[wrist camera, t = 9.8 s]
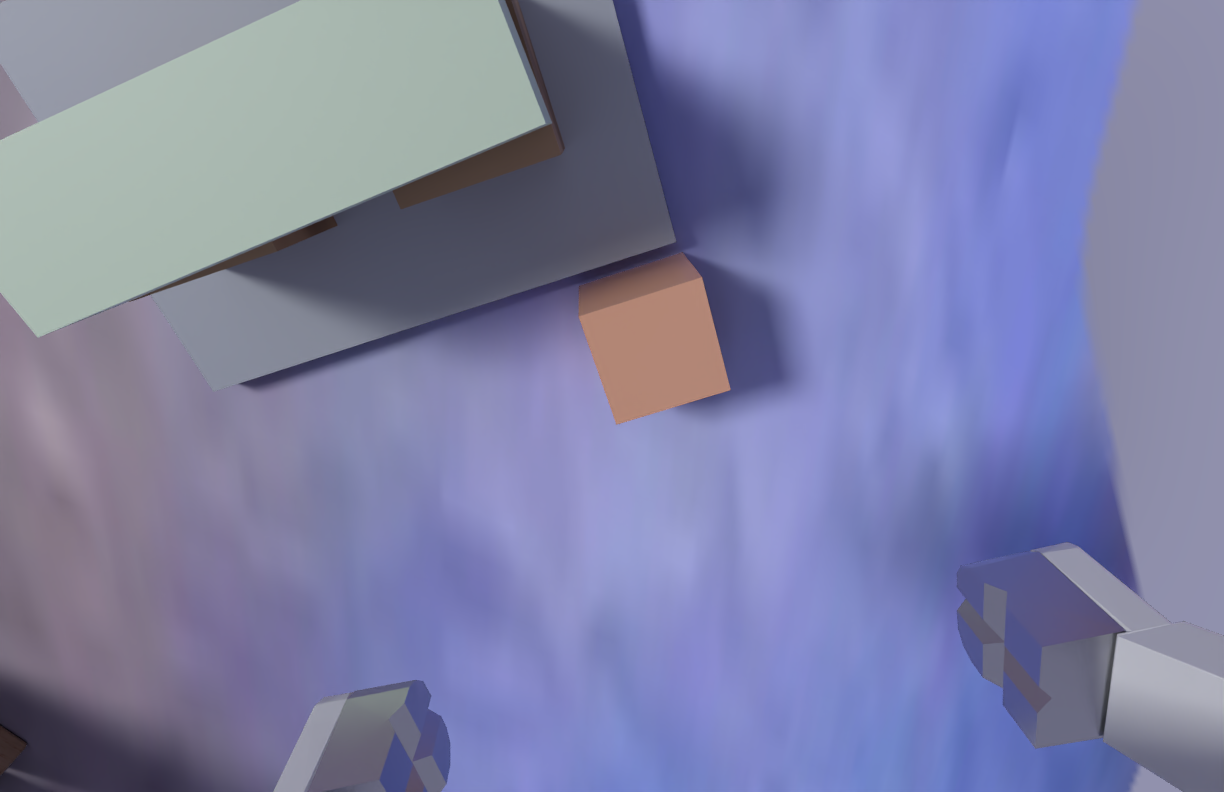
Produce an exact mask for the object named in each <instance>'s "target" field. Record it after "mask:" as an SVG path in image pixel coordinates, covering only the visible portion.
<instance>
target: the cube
mask: <svg viewBox="0 0 1224 792" xmlns="http://www.w3.org/2000/svg"><path fill="white" fill-rule="evenodd" d="M579 319H580V322H581V325H582V328H583V330H584V333H585V336H586V339H587V342H588V345H589V347H590V350H591V353H592V356H593V359H594V362H595V365H596V367H597V370H598V373H599V376H600V379H601V382H602V385H603V387H604V390H605V393H606V396H607V399H608V402H609V404H610V407H611V410H612V413H613V416H614V419H615V422H616V424H620V423H623V422H627V421H630V420H633V419H637V418H640V417H643V416H646V415H650V414H653V413H656V412H660V411H663V410H666V409H670V408H673V407H676V406H680V405H683V404H686V403H689V402H693V401H696V400H699V399H703V398H706V397H709V396H713V395H716V394H719V393H723V392H726V391H729V390H731V389H730V385H729V381H728V378H727V374H726V370H725V366H724V362H723V358H722V354H721V350H720V346H719V342H718V338H717V334H716V330H715V326H714V322H713V318H712V315H711V311H710V307H709V303H708V299H707V295H706V291H705V287H704V283H703V279H702V277H701V275H700V274H699V273H698V271H697V270H696V269H695V268H694V266H693V265H692V264H691V263H690V261H689V260H688V259H687V257H686V256H685V255H684V254H683V252H682V253H679V254H675V255H672V256H669V257H666V258H663V259H660V260H657V261H654V262H651V263H648V264H644V265H641V266H638V267H635V268H632V269H629V270H626V271H623V272H620V273H617V274H614V275H610V276H607V277H604V278H601V279H598V280H595V281H592V282H589V283H586V284H583V285H580V286H579Z"/></svg>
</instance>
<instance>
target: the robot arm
mask: <svg viewBox="0 0 1224 792" xmlns="http://www.w3.org/2000/svg"><path fill="white" fill-rule="evenodd" d="M957 588H958V589H959V591H960V592H961V593H962V594H963V596H964V597H965V598H966V599H965V601H964V602H963V603H962V605H961V606H960V607H959V609H958V610H957V621H958V630H959V633H960V637H961V640H962V643H963V646H964V648H965V650H966V652H967V654H968V656H969V658H970V660H971V662H972V663H973V665H974V666H975V667H976V669H977V670H978V672H979V673H980V674H981V676H982V677H983V678H985V679H987V680H989V681H990V682H992V683H994V684H996V685H998V686H1000V687H1002V688H1003V706H1004V707H1005V708H1006V710H1007V711H1008V712H1009V714H1010V715H1011V716H1012V718H1013V719H1014V721H1015V722H1016V723H1017V725H1018V726H1019V727H1020V729H1021V730H1022V731H1023V733H1024V734H1025V735H1026V737H1027V738H1028V739H1029V741H1030V742H1031V743H1032V745H1033V746H1034V747H1035V749H1036V748H1042V747H1048V746H1055V745H1061V744H1067V743H1073V742H1079V741H1086V740H1092V739H1098V738H1103V742H1105V743H1106V744H1108V745H1110V746H1111V747H1113V748H1114V749H1116V750H1118V751H1119V752H1121V753H1122V754H1124V755H1125V756H1127V757H1129V758H1130V759H1132V760H1133V761H1135V762H1137V763H1138V764H1140V765H1141V766H1143V767H1145V768H1146V769H1148V770H1149V771H1151V772H1153V773H1154V774H1156V775H1157V776H1159V777H1160V778H1162V779H1164V780H1165V781H1167V782H1168V783H1170V784H1172V785H1173V786H1175V787H1176V788H1178V789H1179V790H1181V791H1183V792H1224V635H1221V634H1218V633H1215V632H1212V631H1210V630H1207V629H1204V628H1202V627H1199V626H1196V625H1193V624H1191V623H1188V622H1185V621H1182V622H1176V623H1171V622H1170V621H1169V620H1167V619H1166V618H1165V617H1164V616H1162V615H1161V614H1160V613H1159V612H1157V611H1156V610H1155V609H1154V608H1153V607H1151V606H1150V605H1149V604H1148V603H1147V602H1145V601H1144V600H1143V599H1142V598H1141V597H1139V596H1138V595H1137V594H1136V593H1134V592H1133V591H1132V590H1131V589H1130V588H1128V587H1127V586H1126V585H1125V584H1123V583H1122V582H1121V581H1120V580H1119V579H1117V578H1116V577H1115V576H1114V575H1112V574H1111V573H1110V572H1109V571H1108V570H1106V569H1105V568H1104V567H1103V566H1102V565H1100V564H1099V563H1098V562H1097V561H1095V560H1094V559H1093V558H1092V557H1091V556H1089V555H1088V554H1087V553H1086V552H1084V551H1083V550H1082V549H1081V548H1080V547H1078V546H1077V545H1074V544H1071V543H1068V542H1065V543H1061V544H1056V545H1052V546H1047V547H1043V548H1038V549H1034V550H1031V551H1025V552H1021V553H1016V554H1011V555H1007V556H1002V557H998V558H993V559H989V560H984V561H980V562H975V563H970V564H966V565H961V566H960V568H959V570H958V572H957ZM430 699H431V694H430V693H429V691H428V689H427V687H426V685H425V684H424V682H423V681H420V680H413V681H407V682H402V683H396V684H391V685H385V686H380V687H374V688H369V689H363V690H358V691H354V692H351V693H345V694H339V695H334V696H328V697H324V698H323V699H322V700H320V701H319V702H318V703H317V704H316V705H315V706H314V708H313V710H312V712H311V714H310V716H309V719H308V721H307V723H306V725H305V727H304V729H303V731H302V733H301V735H300V737H299V739H298V741H297V743H296V746H295V748H294V750H293V752H292V754H291V756H290V758H289V760H288V762H287V764H286V766H285V768H284V770H283V773H282V775H281V777H280V779H279V781H278V783H277V785H276V787H275V789H274V791H273V792H441V790H442V789H443V788H444V787H445V785H446V784H447V779H448V774H449V769H450V740H449V735H448V731H447V727H446V725H445V723H444V721H443V719H442V717H441V716H440V715H438V714H436V713H435V712H433V711H431V710H429V709H428V707H429V703H430Z"/></svg>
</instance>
